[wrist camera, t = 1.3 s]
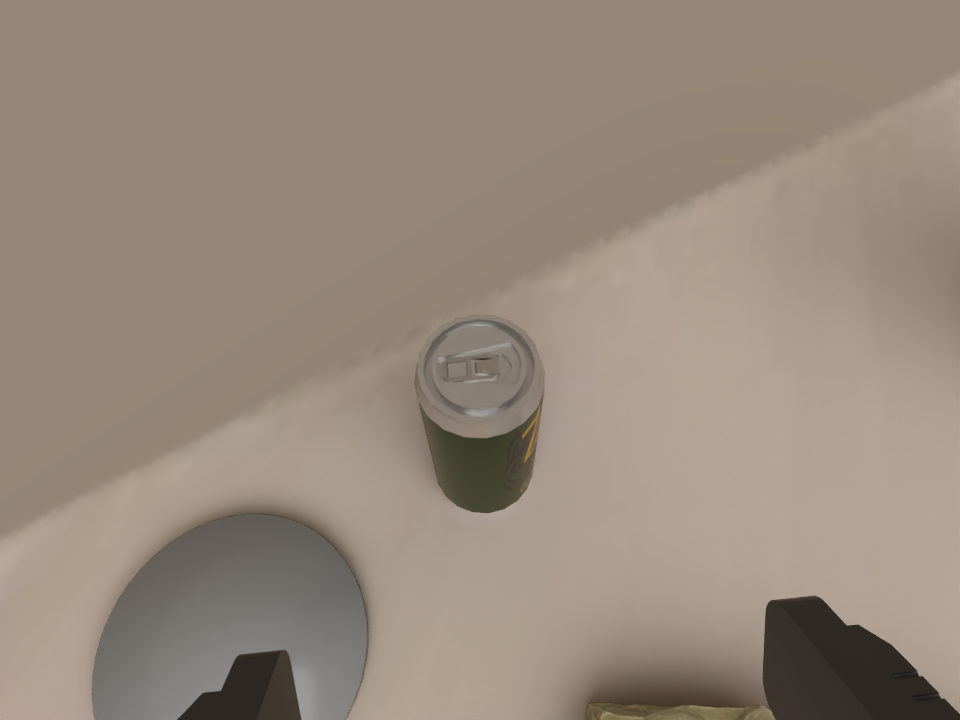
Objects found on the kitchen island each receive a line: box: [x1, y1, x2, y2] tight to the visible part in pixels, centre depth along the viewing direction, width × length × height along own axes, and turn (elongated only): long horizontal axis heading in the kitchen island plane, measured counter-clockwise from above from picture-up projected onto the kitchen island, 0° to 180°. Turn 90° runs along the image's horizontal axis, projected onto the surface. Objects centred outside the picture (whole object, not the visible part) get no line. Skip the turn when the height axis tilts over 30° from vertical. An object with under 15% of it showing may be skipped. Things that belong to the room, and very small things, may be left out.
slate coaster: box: [92, 514, 368, 720], centre depth 31 cm, size 13×13×1 cm
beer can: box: [414, 315, 545, 513], centre depth 31 cm, size 5×5×12 cm
